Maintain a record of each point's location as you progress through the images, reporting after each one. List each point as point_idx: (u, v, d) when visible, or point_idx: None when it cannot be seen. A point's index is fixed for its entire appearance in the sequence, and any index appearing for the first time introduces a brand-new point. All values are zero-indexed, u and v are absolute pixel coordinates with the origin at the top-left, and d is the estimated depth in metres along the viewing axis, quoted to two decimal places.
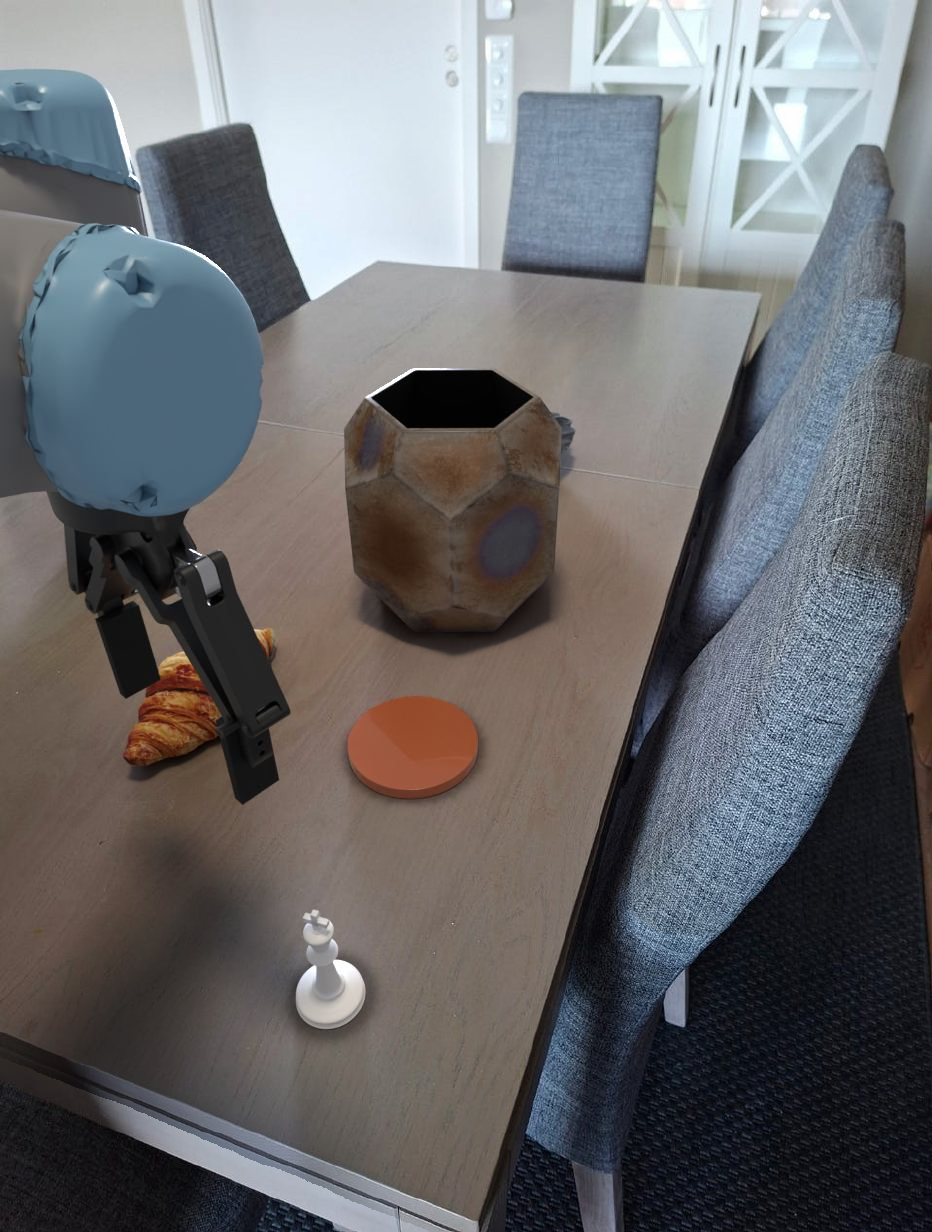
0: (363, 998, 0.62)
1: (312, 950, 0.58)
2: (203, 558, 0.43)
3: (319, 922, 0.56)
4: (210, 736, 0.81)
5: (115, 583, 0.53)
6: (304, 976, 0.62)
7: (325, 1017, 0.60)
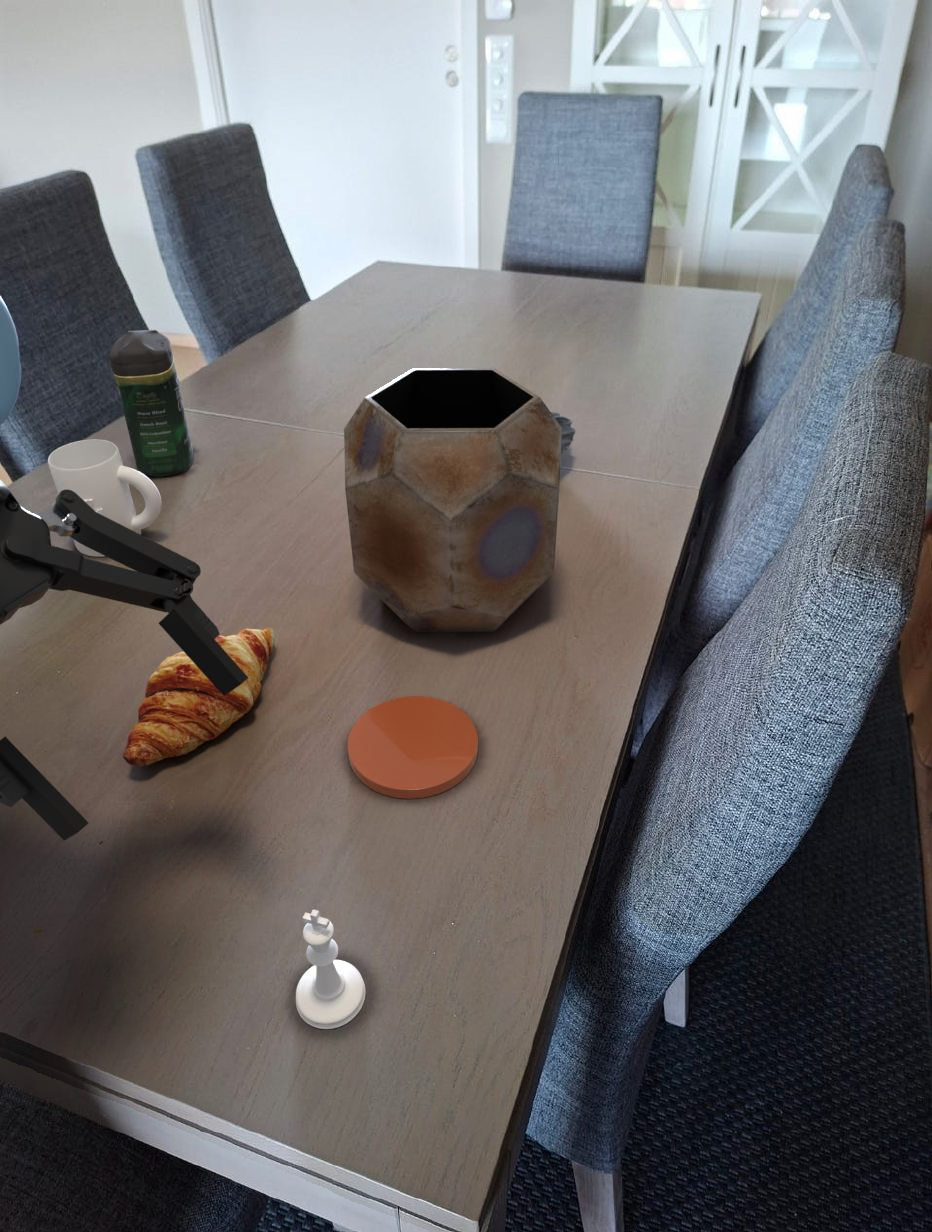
0: (363, 998, 0.62)
1: (312, 950, 0.58)
2: None
3: (319, 922, 0.56)
4: (210, 736, 0.81)
5: None
6: (304, 976, 0.62)
7: (325, 1017, 0.60)
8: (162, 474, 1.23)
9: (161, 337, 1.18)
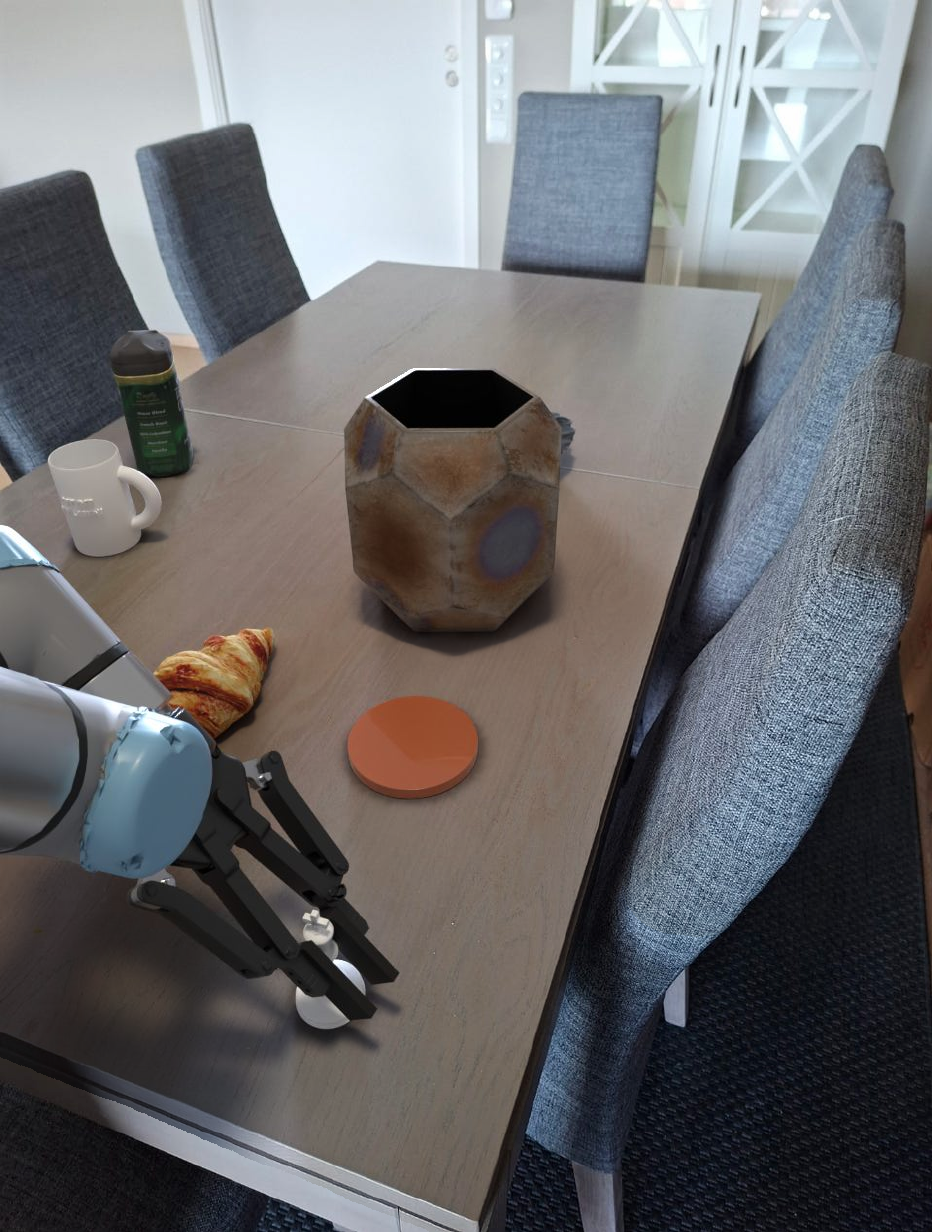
0: None
1: None
2: None
3: (319, 922, 0.56)
4: None
5: None
6: None
7: (325, 1017, 0.60)
8: (162, 474, 1.23)
9: (161, 337, 1.18)
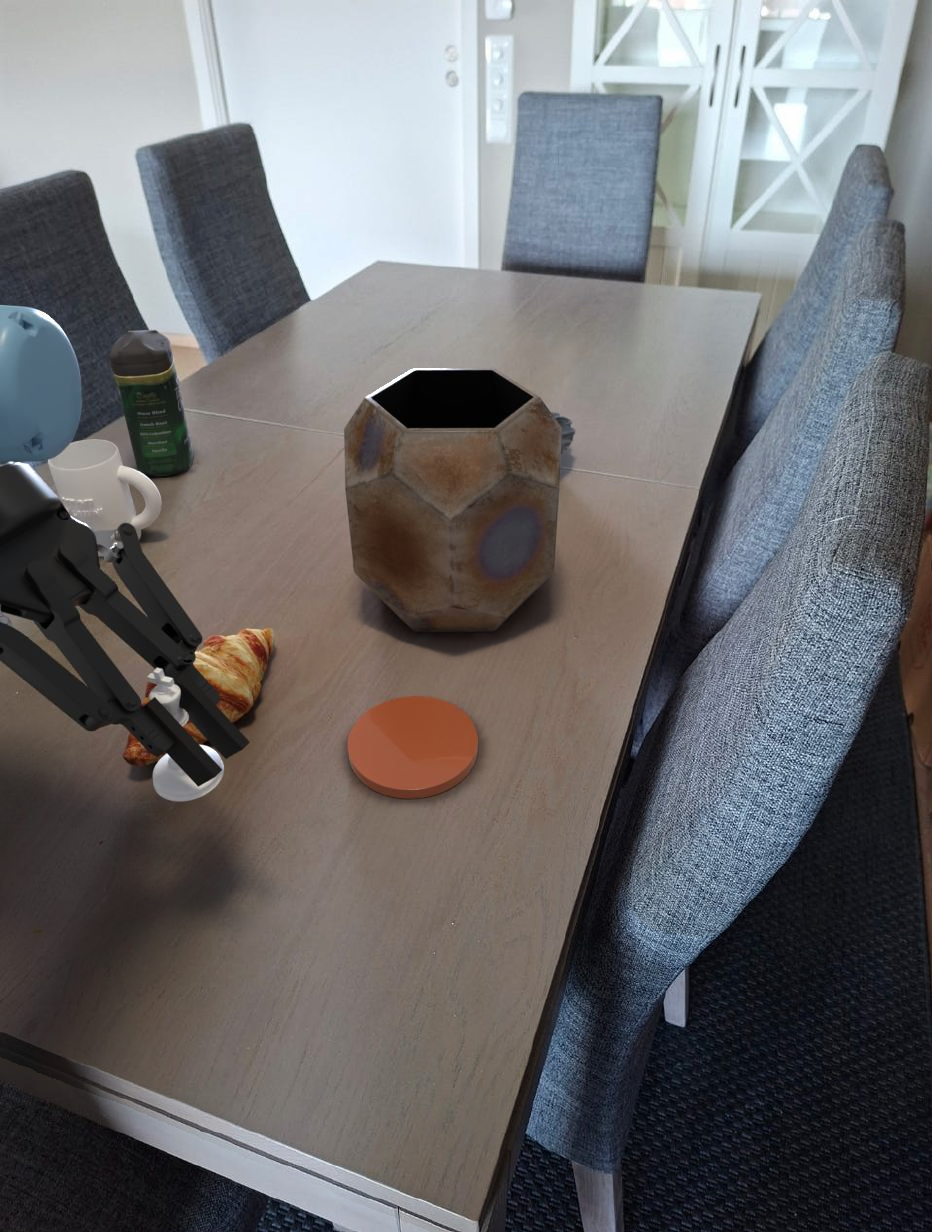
0: (220, 777, 0.62)
1: None
2: None
3: (163, 680, 0.57)
4: None
5: None
6: (163, 757, 0.63)
7: (178, 789, 0.61)
8: (162, 474, 1.23)
9: (161, 337, 1.18)
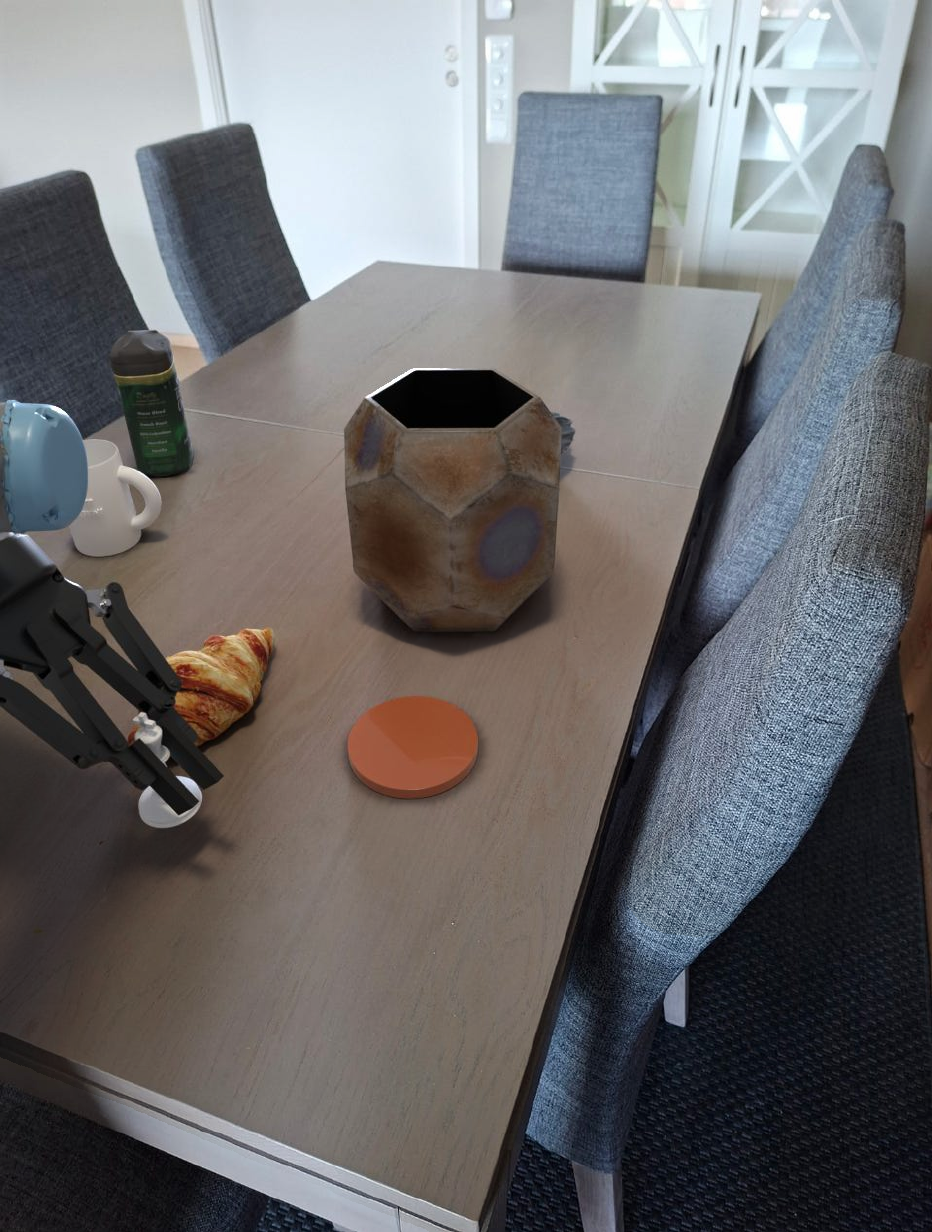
0: (198, 805, 0.70)
1: None
2: None
3: (146, 723, 0.65)
4: (210, 736, 0.81)
5: None
6: (148, 787, 0.71)
7: (161, 817, 0.68)
8: (162, 474, 1.23)
9: (161, 337, 1.18)
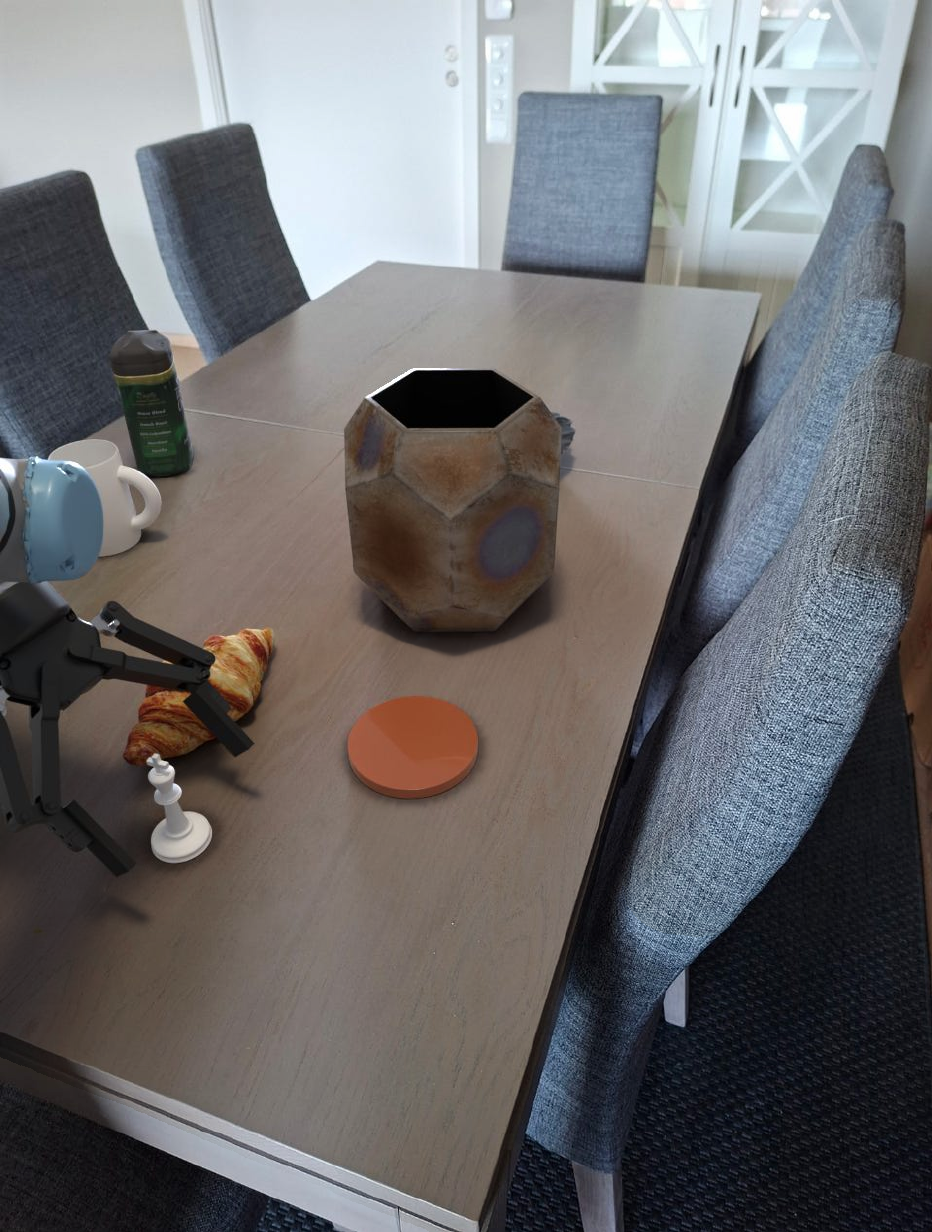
0: (209, 840, 0.73)
1: (158, 792, 0.69)
2: (102, 608, 0.71)
3: (159, 764, 0.67)
4: (210, 736, 0.81)
5: None
6: (160, 823, 0.73)
7: (173, 852, 0.71)
8: (162, 474, 1.23)
9: (161, 337, 1.18)
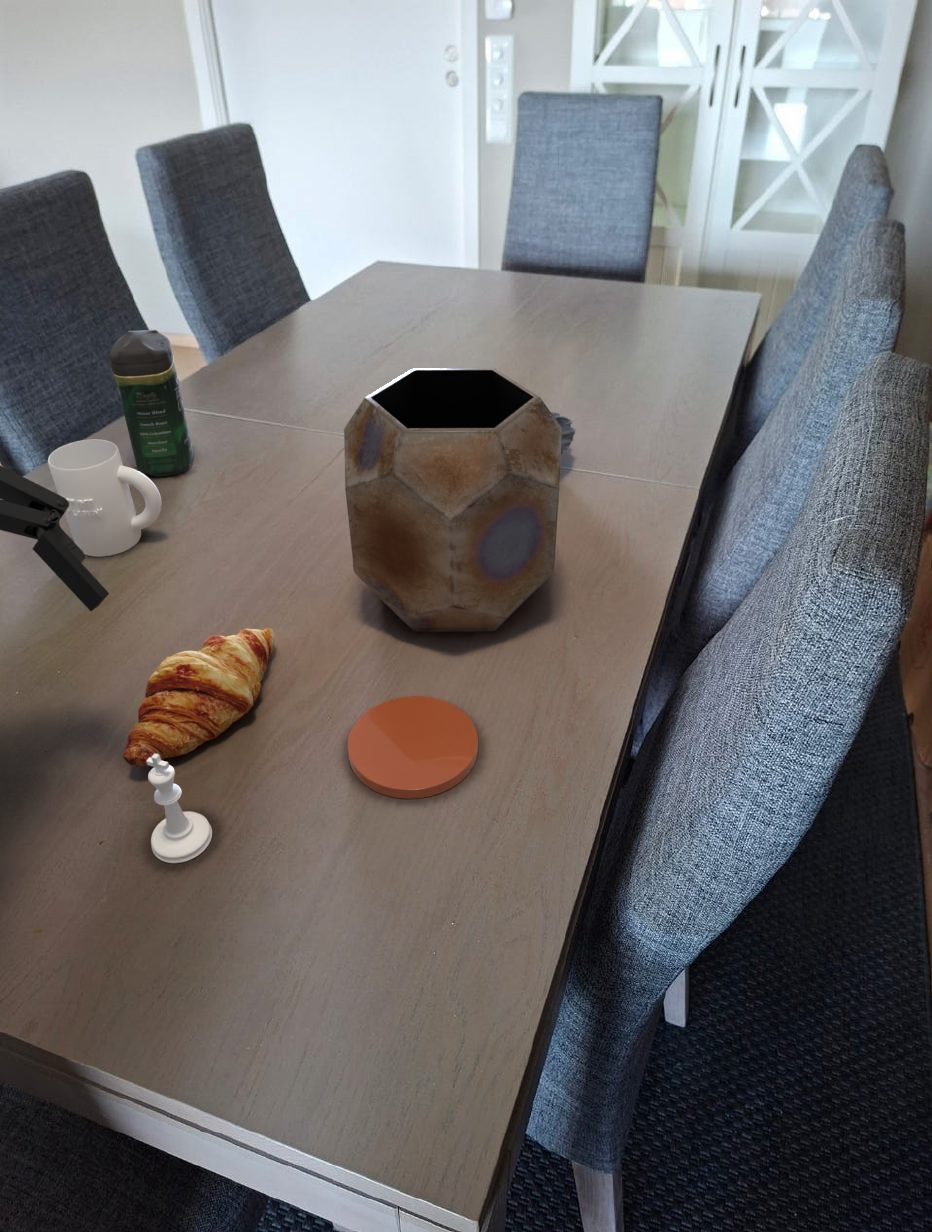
0: (209, 840, 0.73)
1: (158, 792, 0.69)
2: None
3: (159, 764, 0.67)
4: (210, 736, 0.81)
5: None
6: (160, 823, 0.73)
7: (173, 852, 0.71)
8: (162, 474, 1.23)
9: (161, 337, 1.18)
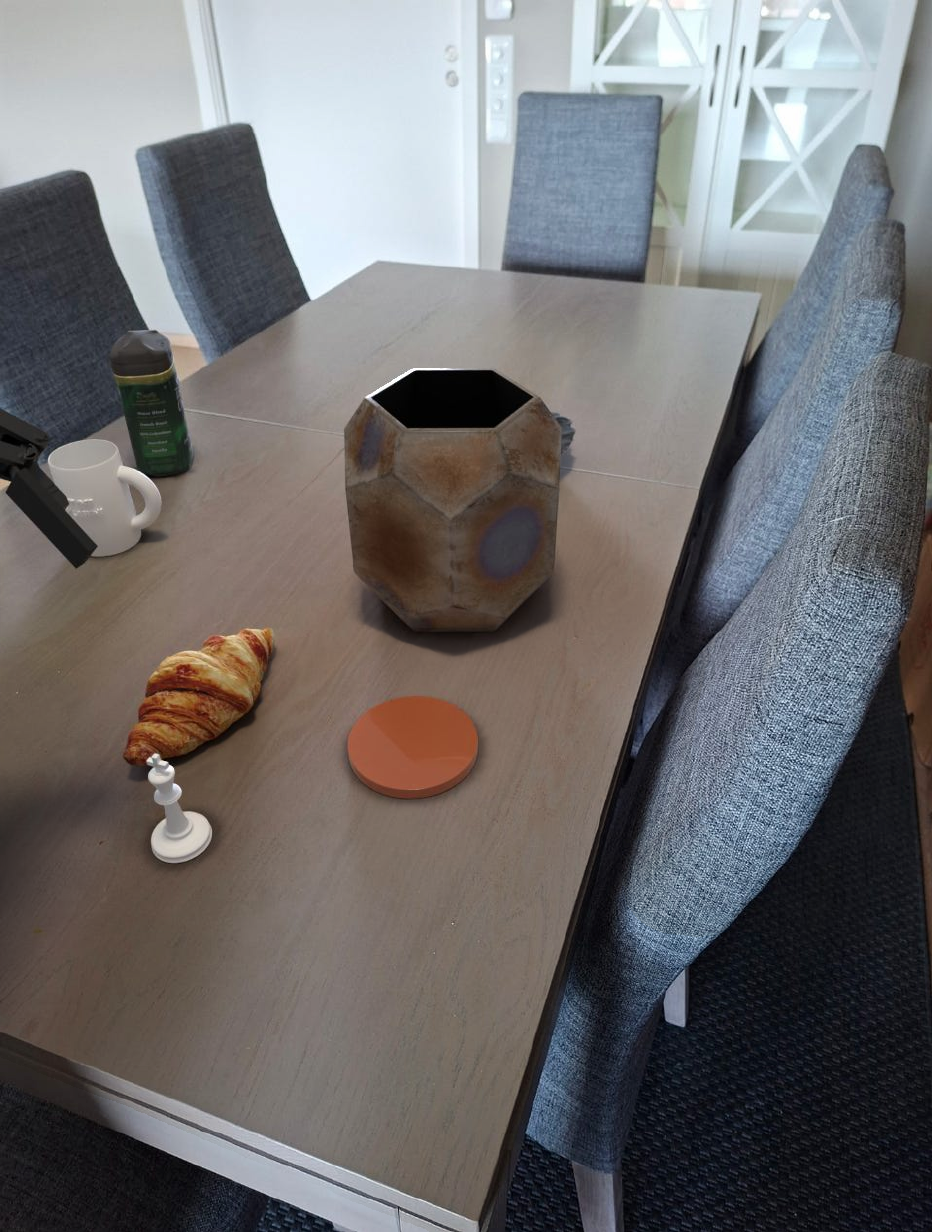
0: (209, 840, 0.73)
1: (158, 792, 0.69)
2: None
3: (159, 764, 0.67)
4: (210, 736, 0.81)
5: None
6: (160, 823, 0.73)
7: (173, 852, 0.71)
8: (162, 474, 1.23)
9: (161, 337, 1.18)
